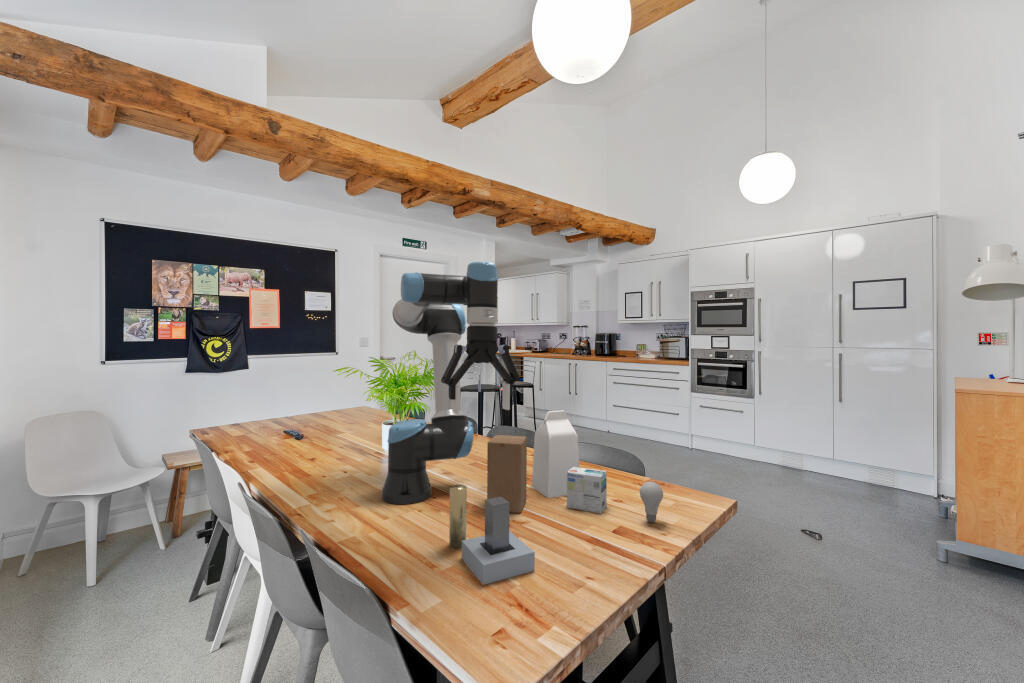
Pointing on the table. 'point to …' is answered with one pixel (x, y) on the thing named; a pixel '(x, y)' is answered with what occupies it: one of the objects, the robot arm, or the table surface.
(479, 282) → the robot arm
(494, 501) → the square bit
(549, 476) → the milk
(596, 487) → the light bulb box
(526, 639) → the table surface
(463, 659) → the table surface
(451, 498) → the cylinder
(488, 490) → the wooden block
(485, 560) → the jig
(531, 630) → the table surface
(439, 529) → the table surface
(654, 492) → the lightbulb
